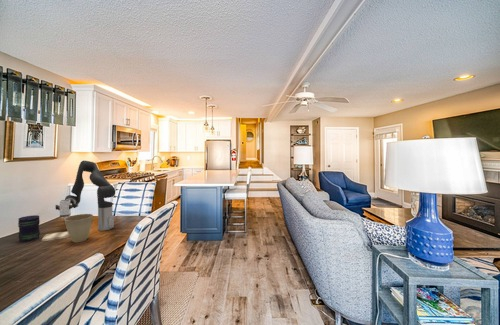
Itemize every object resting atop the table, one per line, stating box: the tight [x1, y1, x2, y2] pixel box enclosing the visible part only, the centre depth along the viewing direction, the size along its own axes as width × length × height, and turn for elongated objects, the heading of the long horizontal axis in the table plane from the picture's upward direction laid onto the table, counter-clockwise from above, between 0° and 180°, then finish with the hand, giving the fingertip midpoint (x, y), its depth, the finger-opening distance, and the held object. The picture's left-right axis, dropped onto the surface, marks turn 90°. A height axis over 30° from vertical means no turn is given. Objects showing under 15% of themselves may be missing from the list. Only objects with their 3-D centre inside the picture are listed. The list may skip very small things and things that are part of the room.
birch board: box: [41, 231, 70, 242], centre depth 146 cm, size 16×10×2 cm, turn 122°
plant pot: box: [64, 213, 94, 244], centre depth 140 cm, size 15×15×16 cm
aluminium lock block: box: [59, 199, 72, 219], centre depth 156 cm, size 5×6×12 cm
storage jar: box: [17, 214, 41, 243], centre depth 140 cm, size 10×10×15 cm
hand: (64, 208), depth 154 cm, fingers closed on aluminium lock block, 5 cm apart
